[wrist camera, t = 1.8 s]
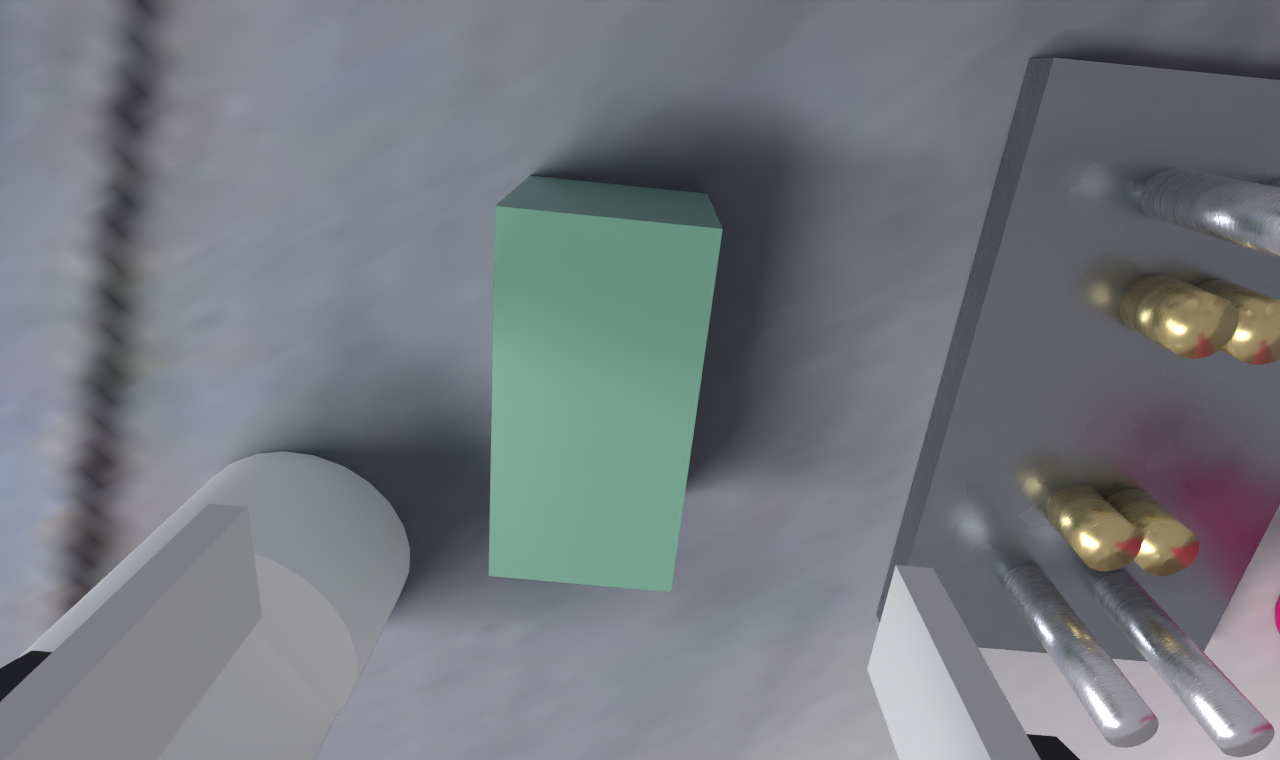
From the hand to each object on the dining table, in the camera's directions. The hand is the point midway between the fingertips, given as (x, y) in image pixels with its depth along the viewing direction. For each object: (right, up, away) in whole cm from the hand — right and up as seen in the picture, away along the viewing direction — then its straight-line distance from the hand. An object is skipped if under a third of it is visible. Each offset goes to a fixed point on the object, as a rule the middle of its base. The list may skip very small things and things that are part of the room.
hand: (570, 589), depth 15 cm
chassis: (+19, +4, +12) cm, 23 cm away
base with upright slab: (-13, -3, +16) cm, 20 cm away
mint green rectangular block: (0, +5, +12) cm, 13 cm away
